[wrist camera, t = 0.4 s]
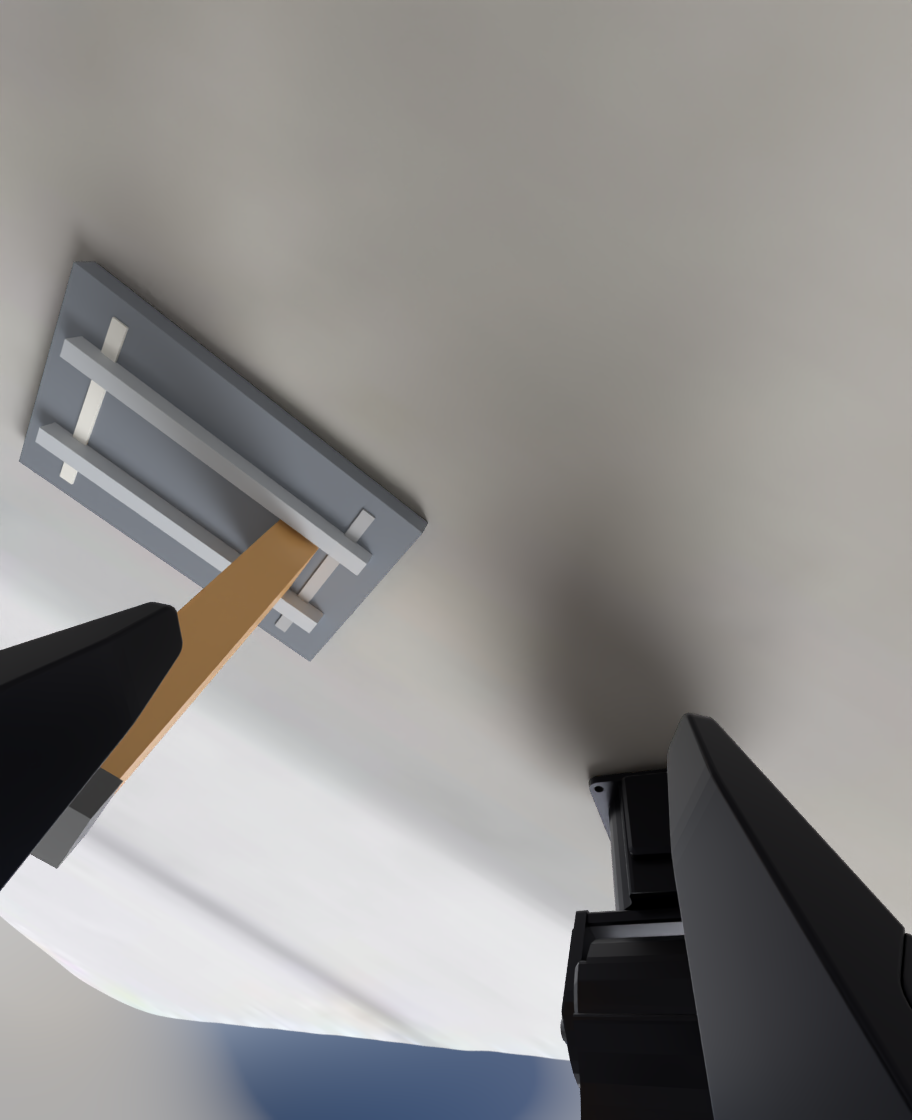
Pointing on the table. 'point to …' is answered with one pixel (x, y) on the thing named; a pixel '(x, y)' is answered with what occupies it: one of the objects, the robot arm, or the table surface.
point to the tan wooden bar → (189, 669)
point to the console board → (203, 460)
